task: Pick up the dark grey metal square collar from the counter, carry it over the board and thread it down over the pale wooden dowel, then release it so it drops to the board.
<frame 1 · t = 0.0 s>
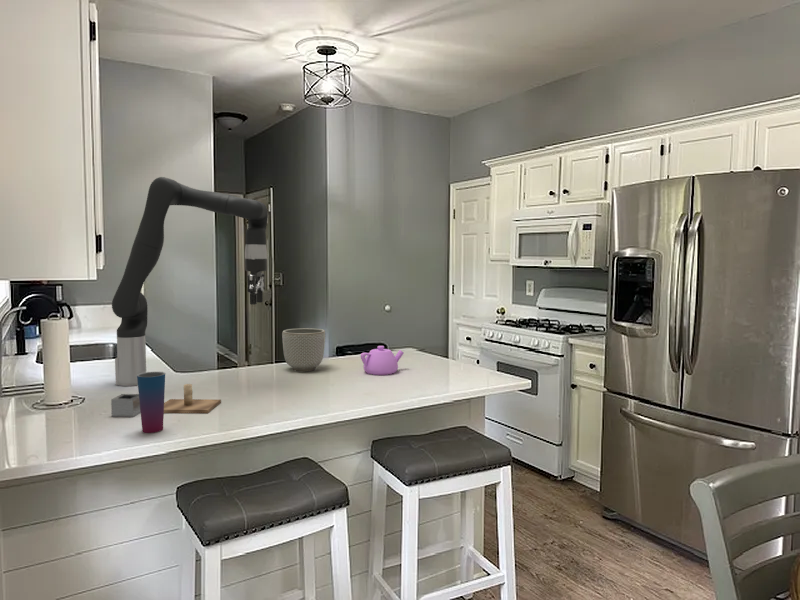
hand: (256, 303, 198), 29 cm above the worktop, fingers open, 8 cm apart
collar: (127, 413, 163), on the worktop
teapot: (382, 372, 224), on the worktop
planter: (304, 370, 227), on the worktop
cup: (152, 430, 148), on the worktop
post board: (188, 407, 170), on the worktop
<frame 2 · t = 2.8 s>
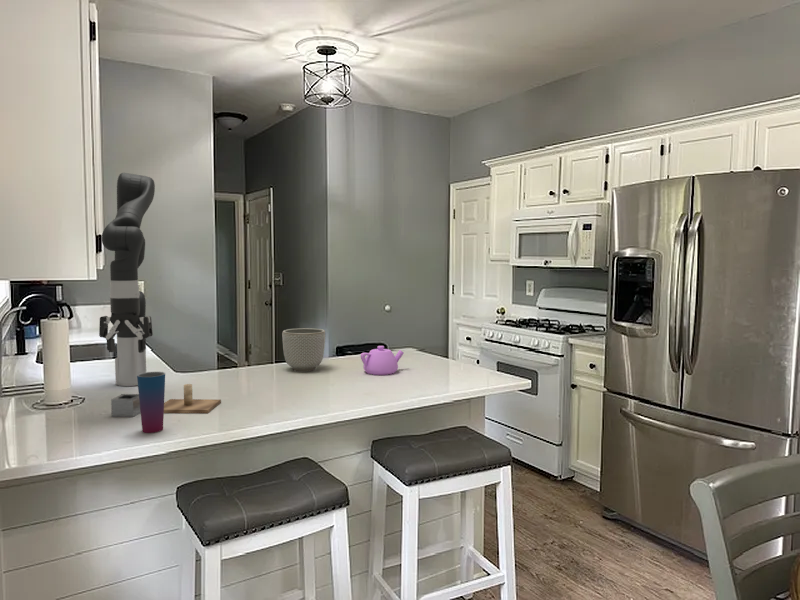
hand: (126, 352, 161), 18 cm above the worktop, fingers open, 8 cm apart
nothing on the worktop moved.
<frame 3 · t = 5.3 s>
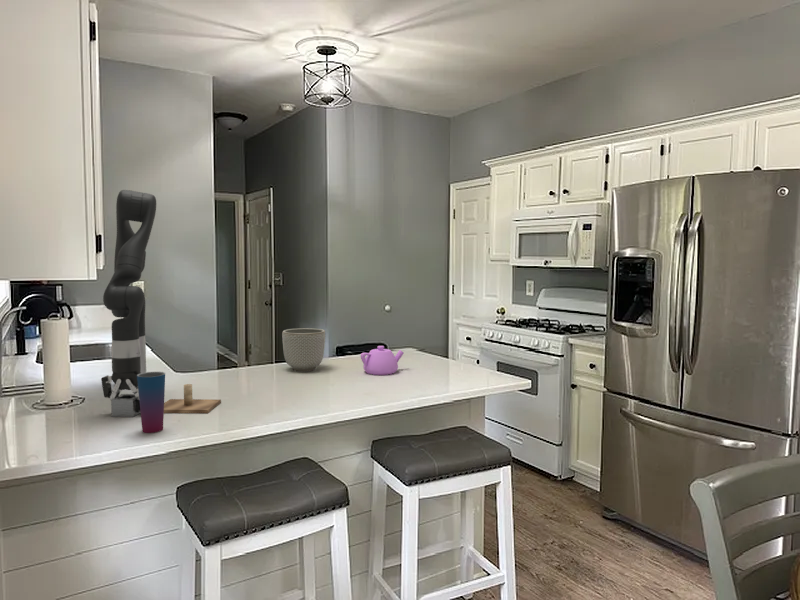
hand: (127, 411, 163), 1 cm above the worktop, fingers closed on collar, 6 cm apart
collar: (127, 413, 163), on the worktop, touching gripper
everything else where it was.
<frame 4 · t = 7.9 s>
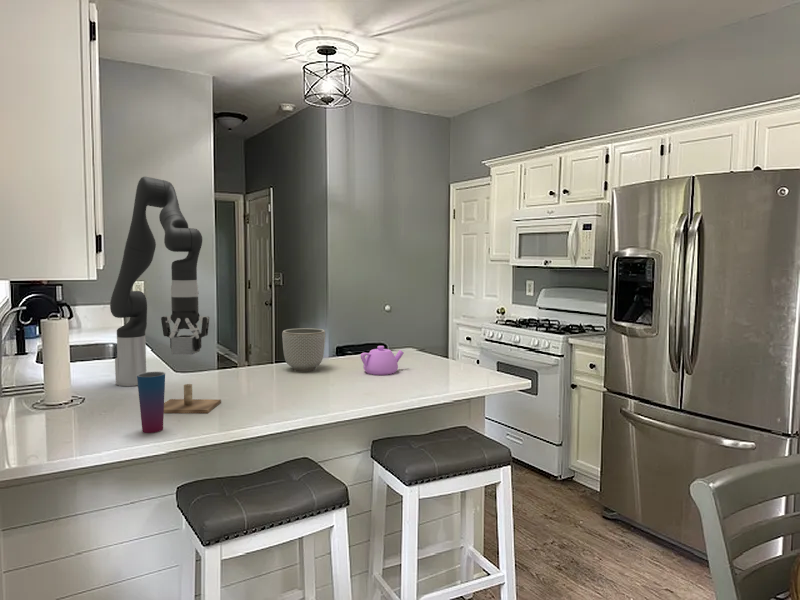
hand: (186, 350, 168), 18 cm above the worktop, fingers closed on collar, 6 cm apart
collar: (186, 352, 168), point 17 cm above the worktop, touching gripper
everything else where it was.
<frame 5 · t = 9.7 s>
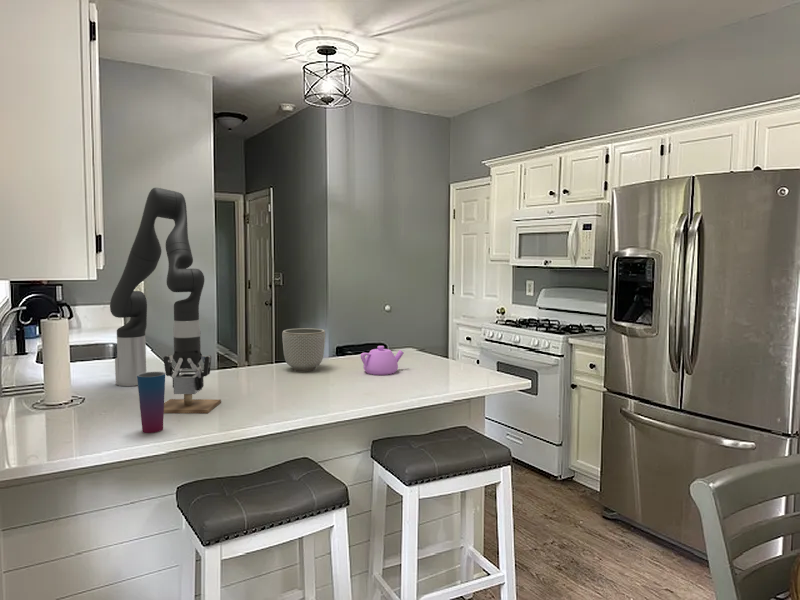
hand: (188, 389, 169), 6 cm above the worktop, fingers closed on collar, 6 cm apart
collar: (188, 391, 169), point 5 cm above the worktop, touching gripper
everything else where it was.
when the fingers open (4 cm above the worktop, at t = 10.9 s): collar drops 2 cm, resting on post board.
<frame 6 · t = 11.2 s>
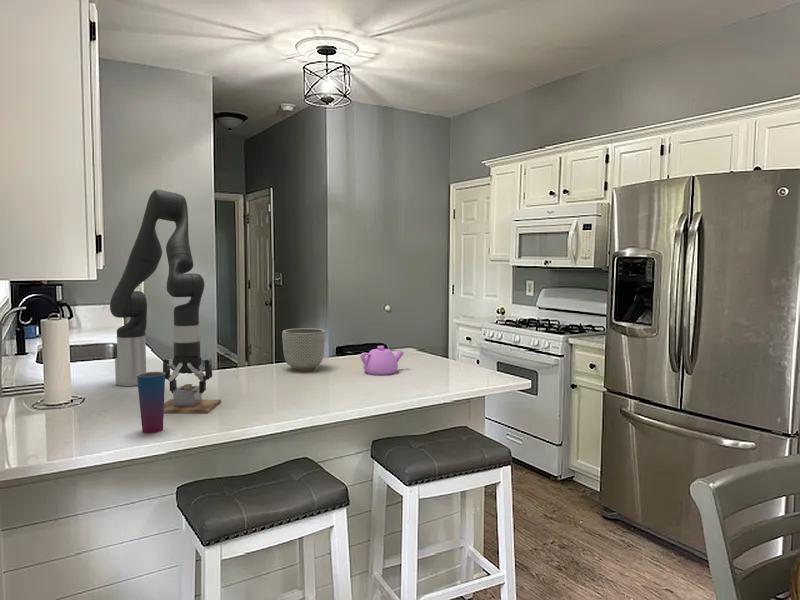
hand: (188, 392, 169), 5 cm above the worktop, fingers open, 8 cm apart
collar: (187, 404, 170), point 1 cm above the worktop, touching post board
everything else where it was.
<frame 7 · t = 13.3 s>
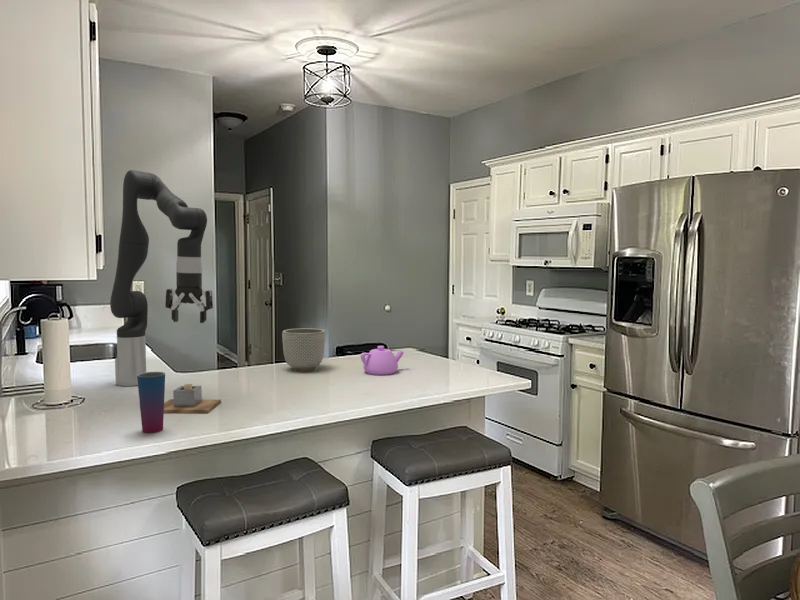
hand: (189, 322, 177), 25 cm above the worktop, fingers open, 8 cm apart
nothing on the worktop moved.
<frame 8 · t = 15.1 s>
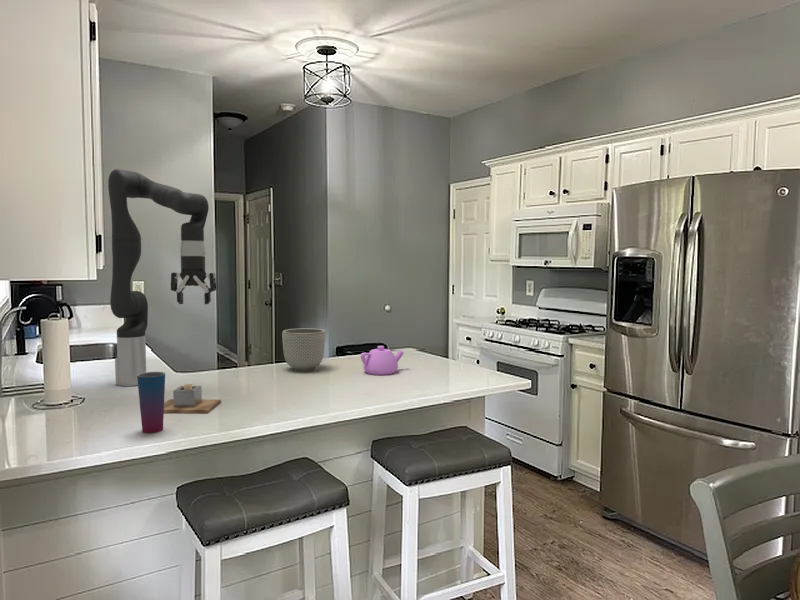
hand: (194, 304, 184), 30 cm above the worktop, fingers open, 8 cm apart
nothing on the worktop moved.
at the end: collar 0.1 cm off-centre on the post board, point 1.0 cm above the post board's base; the gripper is holding nothing; collar tilted 0° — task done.
